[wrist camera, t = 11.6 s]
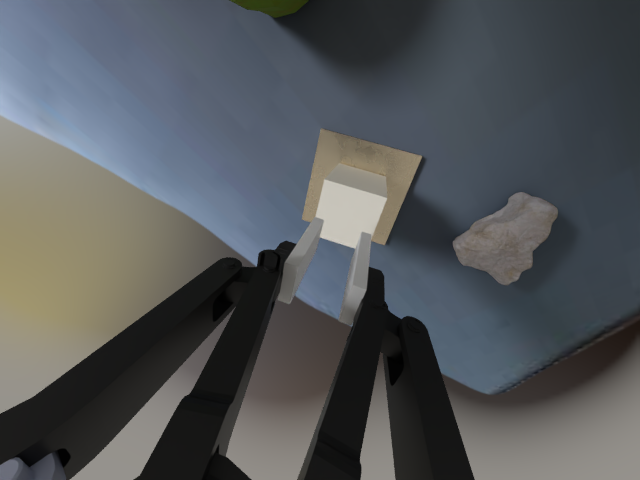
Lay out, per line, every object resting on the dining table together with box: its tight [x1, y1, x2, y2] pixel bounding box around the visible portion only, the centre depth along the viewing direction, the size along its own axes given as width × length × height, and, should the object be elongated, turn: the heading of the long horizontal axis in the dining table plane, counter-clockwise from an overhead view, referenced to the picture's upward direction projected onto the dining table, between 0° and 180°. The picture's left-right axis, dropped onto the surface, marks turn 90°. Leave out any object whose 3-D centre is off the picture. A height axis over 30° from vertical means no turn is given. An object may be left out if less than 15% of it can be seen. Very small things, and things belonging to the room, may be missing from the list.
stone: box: [453, 192, 558, 285], centre depth 27 cm, size 8×10×6 cm
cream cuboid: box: [315, 163, 387, 249], centre depth 27 cm, size 6×6×9 cm
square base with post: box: [302, 129, 422, 245], centre depth 27 cm, size 12×12×9 cm
